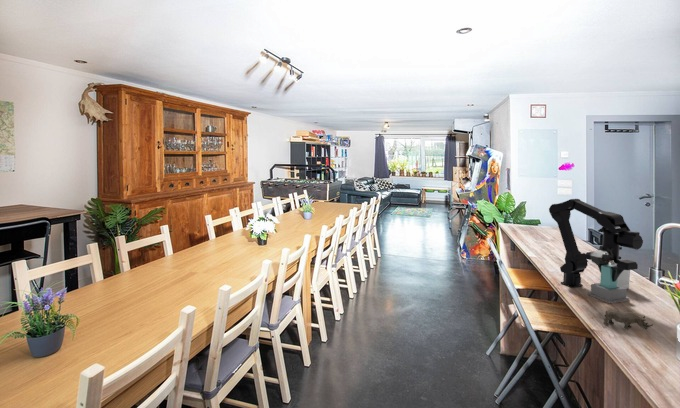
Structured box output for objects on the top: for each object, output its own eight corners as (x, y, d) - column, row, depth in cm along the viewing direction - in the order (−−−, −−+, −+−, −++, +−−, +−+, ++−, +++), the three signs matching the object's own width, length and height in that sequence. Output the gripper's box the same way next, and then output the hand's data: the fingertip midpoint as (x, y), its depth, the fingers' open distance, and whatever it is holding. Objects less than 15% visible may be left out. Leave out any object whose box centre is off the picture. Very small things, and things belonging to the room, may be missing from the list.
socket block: (587, 294, 157) (588, 283, 156) (605, 292, 159) (606, 281, 158) (610, 303, 147) (610, 291, 146) (628, 300, 149) (629, 288, 149)
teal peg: (600, 288, 154) (601, 265, 153) (607, 286, 155) (608, 264, 154) (609, 291, 150) (610, 268, 149) (616, 290, 151) (618, 267, 150)
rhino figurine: (653, 335, 121) (654, 318, 120) (602, 325, 129) (603, 309, 128) (652, 330, 124) (653, 314, 123) (603, 321, 132) (604, 305, 132)
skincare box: (620, 285, 166) (622, 260, 164) (629, 289, 161) (631, 262, 160) (608, 286, 165) (610, 261, 164) (617, 290, 161) (618, 263, 159)
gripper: (575, 241, 157) (574, 275, 159) (618, 251, 139) (615, 289, 141) (596, 238, 160) (594, 272, 162) (640, 248, 142) (637, 286, 144)
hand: (608, 279), depth 152 cm, fingers closed on teal peg, 4 cm apart
